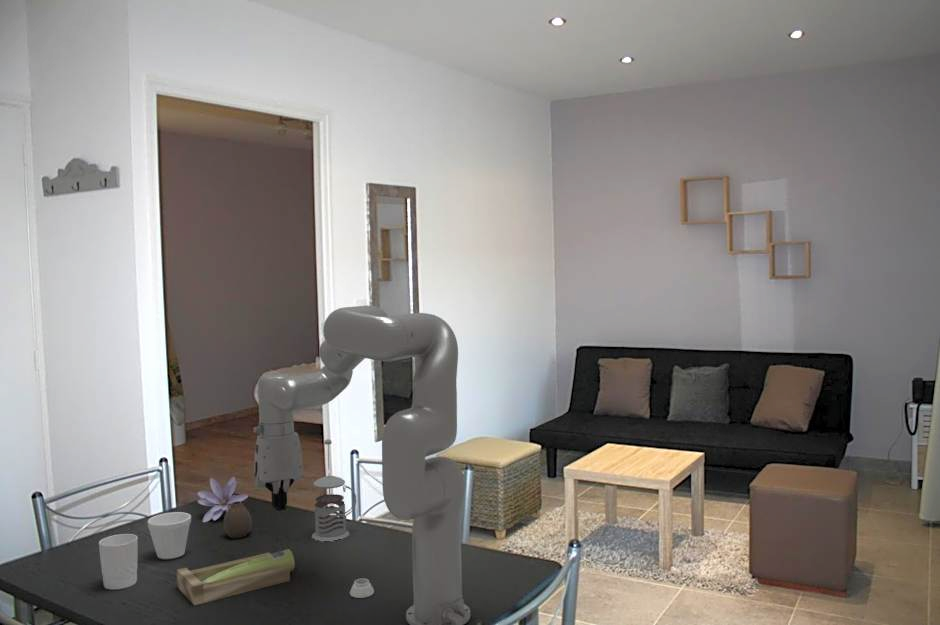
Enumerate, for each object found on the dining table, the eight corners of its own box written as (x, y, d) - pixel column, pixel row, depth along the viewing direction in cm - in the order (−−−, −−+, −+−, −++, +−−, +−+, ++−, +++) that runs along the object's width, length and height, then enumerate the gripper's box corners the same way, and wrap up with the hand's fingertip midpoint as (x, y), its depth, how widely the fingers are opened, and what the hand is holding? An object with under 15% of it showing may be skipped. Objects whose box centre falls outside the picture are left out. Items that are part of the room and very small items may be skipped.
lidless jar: (359, 601, 170) (378, 594, 174) (358, 587, 170) (378, 581, 173) (345, 594, 174) (364, 588, 177) (344, 581, 174) (364, 574, 177)
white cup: (128, 574, 187) (126, 531, 187) (146, 582, 182) (144, 538, 182) (94, 585, 181) (92, 541, 181) (112, 594, 176) (109, 548, 176)
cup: (140, 561, 195) (138, 523, 195) (165, 547, 205) (163, 510, 204) (177, 564, 193) (175, 526, 192) (201, 549, 203) (199, 512, 202)
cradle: (290, 580, 182) (289, 563, 181) (194, 605, 169) (193, 586, 169) (269, 565, 191) (268, 548, 191) (177, 587, 179) (176, 569, 179)
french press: (308, 531, 214) (305, 437, 213) (352, 526, 219) (349, 433, 217) (315, 543, 205) (311, 444, 204) (360, 537, 209) (358, 440, 208)
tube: (293, 577, 186) (206, 600, 176) (285, 560, 190) (199, 582, 179) (296, 560, 183) (208, 583, 173) (289, 543, 187) (201, 564, 176)
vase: (222, 534, 214) (220, 501, 214) (249, 529, 217) (248, 497, 217) (226, 542, 208) (225, 508, 207) (254, 537, 211) (252, 504, 210)
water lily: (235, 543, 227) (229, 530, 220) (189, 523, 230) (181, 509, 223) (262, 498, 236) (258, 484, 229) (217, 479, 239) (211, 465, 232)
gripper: (250, 436, 177) (253, 519, 179) (314, 427, 186) (317, 506, 187) (238, 430, 183) (241, 511, 185) (301, 422, 192) (303, 499, 193)
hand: (279, 508), depth 186 cm, fingers closed
